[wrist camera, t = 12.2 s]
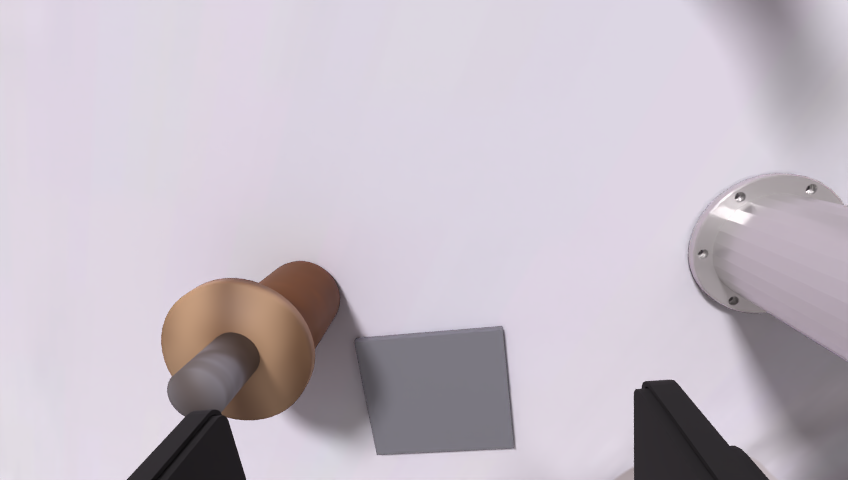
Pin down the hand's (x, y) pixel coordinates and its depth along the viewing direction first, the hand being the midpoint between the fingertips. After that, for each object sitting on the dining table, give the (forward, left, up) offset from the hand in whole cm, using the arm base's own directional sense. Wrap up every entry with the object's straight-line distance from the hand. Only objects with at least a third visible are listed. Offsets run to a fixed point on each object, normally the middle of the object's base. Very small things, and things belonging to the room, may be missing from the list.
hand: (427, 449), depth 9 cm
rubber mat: (+4, +20, -30) cm, 37 cm away
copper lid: (+18, +8, -21) cm, 29 cm away
